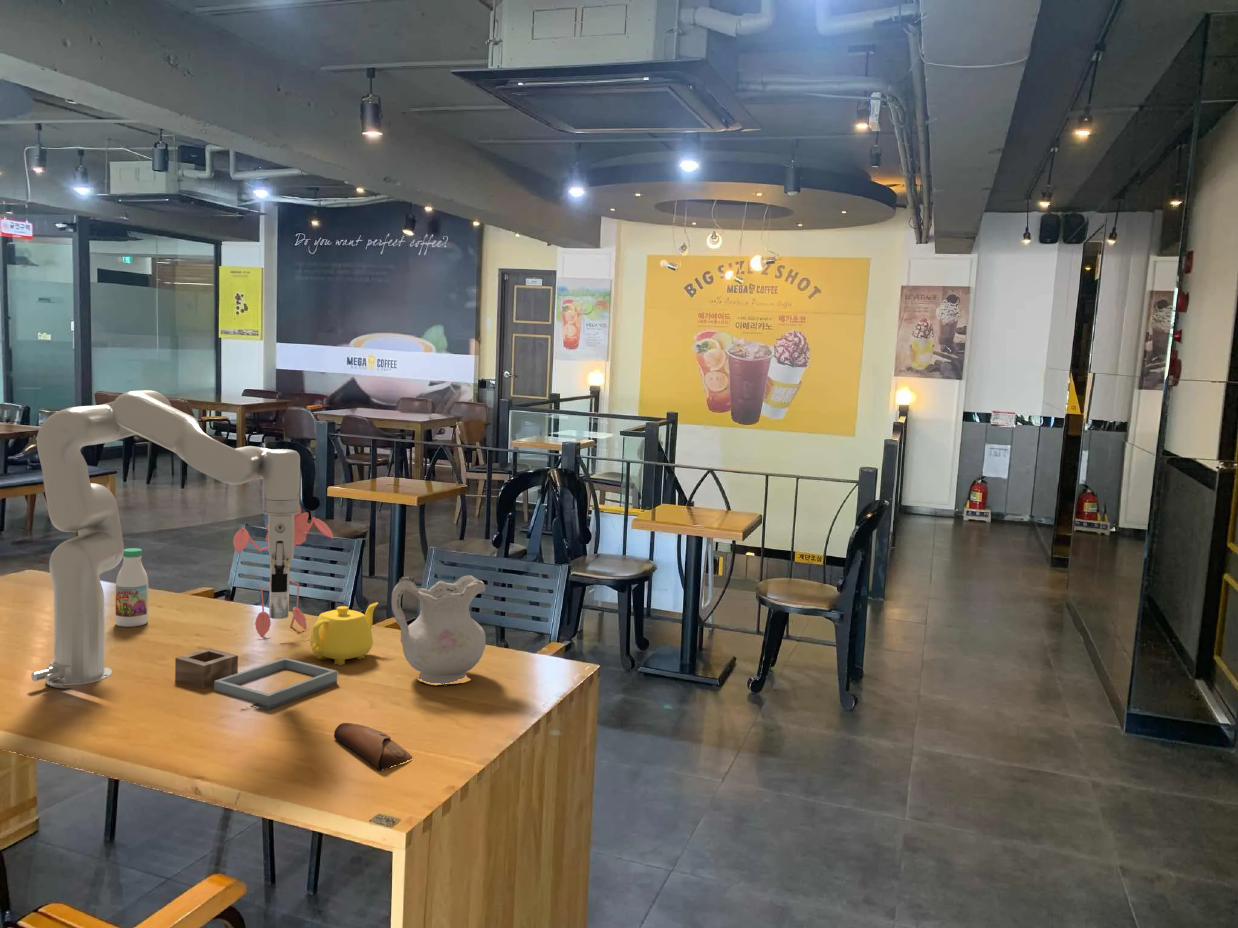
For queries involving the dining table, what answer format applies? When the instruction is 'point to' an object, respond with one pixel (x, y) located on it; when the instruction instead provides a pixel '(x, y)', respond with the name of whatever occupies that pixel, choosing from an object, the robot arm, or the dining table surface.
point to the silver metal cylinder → (279, 596)
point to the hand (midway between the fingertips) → (279, 588)
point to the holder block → (205, 667)
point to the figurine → (263, 617)
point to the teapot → (343, 634)
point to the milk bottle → (132, 590)
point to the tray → (279, 697)
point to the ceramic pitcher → (441, 629)
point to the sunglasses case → (371, 745)
